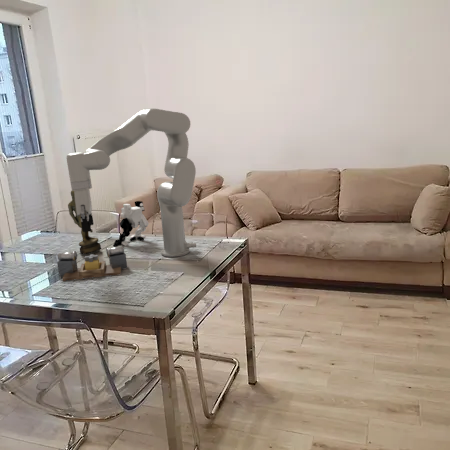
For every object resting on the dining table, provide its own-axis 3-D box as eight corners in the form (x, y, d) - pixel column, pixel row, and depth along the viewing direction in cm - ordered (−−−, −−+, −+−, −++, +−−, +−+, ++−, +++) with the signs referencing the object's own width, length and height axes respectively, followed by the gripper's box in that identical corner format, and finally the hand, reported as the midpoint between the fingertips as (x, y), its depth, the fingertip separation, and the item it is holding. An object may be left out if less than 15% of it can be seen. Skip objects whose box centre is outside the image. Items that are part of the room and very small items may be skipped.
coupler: (87, 269, 191) (85, 255, 189) (100, 267, 191) (98, 253, 190) (86, 273, 186) (83, 258, 184) (99, 271, 187) (97, 257, 185)
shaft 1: (59, 275, 188) (55, 253, 186) (63, 272, 192) (60, 250, 190) (75, 275, 187) (72, 253, 185) (79, 271, 191) (76, 249, 189)
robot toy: (139, 235, 241) (135, 197, 236) (157, 239, 232) (153, 200, 226) (107, 245, 227) (102, 204, 222) (125, 250, 218) (121, 207, 213)
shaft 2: (124, 265, 196) (122, 243, 194) (127, 268, 192) (124, 246, 190) (108, 268, 193) (105, 246, 191) (110, 271, 189) (107, 249, 187)
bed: (121, 265, 196) (121, 259, 195) (120, 274, 185) (119, 267, 184) (66, 271, 192) (65, 265, 192) (62, 281, 182) (61, 274, 181)
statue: (96, 256, 211) (87, 190, 203) (73, 256, 213) (64, 190, 206) (106, 249, 221) (98, 185, 213) (85, 249, 223) (76, 186, 216)
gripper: (74, 182, 188) (81, 224, 192) (67, 190, 171) (75, 235, 176) (93, 180, 189) (99, 221, 193) (89, 187, 172) (96, 232, 177)
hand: (88, 228), depth 184 cm, fingers open, 9 cm apart
